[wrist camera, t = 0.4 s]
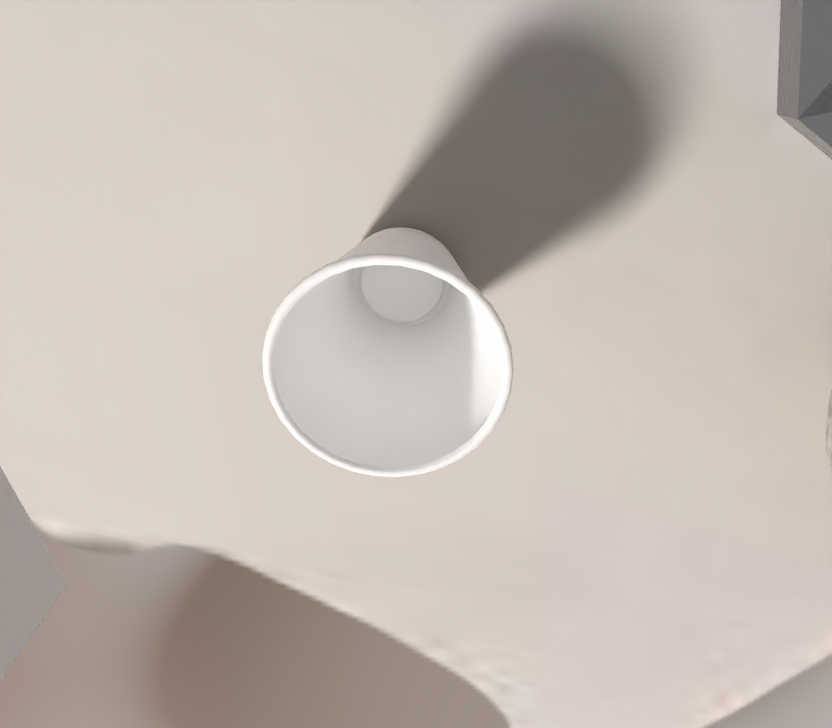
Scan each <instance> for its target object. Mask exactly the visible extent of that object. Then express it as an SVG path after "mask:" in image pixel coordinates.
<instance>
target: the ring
mask: <svg viewBox="0 0 832 728" xmlns="http://www.w3.org/2000/svg"><path fill="white" fill-rule="evenodd" d="M777 114H778V115H779V116H780V117H781V118H783V119H784V120H785V121H786V122H788V123H789V124H790V125H791V126H792V127H794V128H795V129H796V130H797V131H798V132H800V133H801V134H802V135H803V136H805V137H806V138H807V139H808V140H809V141H811V142H812V143H813V144H814V145H816V146H817V147H818V148H819V149H820V150H822V151H823V152H824V153H825V154H826V155H828V156H829V157H830V158H831V159H832V0H781V21H780V50H779V78H778V107H777Z"/></svg>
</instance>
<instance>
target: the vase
mask: <svg viewBox="0 0 832 728" xmlns="http://www.w3.org/2000/svg"><path fill="white" fill-rule="evenodd" d="M826 450H827V454H828V458H829V462H830V466H831V470H832V391H831V394H830V400H829V405H828V412H827V426H826Z"/></svg>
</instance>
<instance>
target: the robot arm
mask: <svg viewBox="0 0 832 728" xmlns="http://www.w3.org/2000/svg"><path fill="white" fill-rule="evenodd" d="M66 585H67V583H66V581H65V580H64V578H63V576H62V574H61V573H60V571H59V569H58V567H57V566H56V564H55V562H54V560H53V559H52V557H51V555H50V553H49V551H48V550H47V548H46V546H45V545H44V543H43V541H42V539H41V537H40V536H39V534H38V532H37V530H36V529H35V527H34V525H33V523H32V522H31V520H30V518H29V516H28V515H27V513H26V511H25V509H24V507H23V506H22V504H21V502H20V500H19V499H18V497H17V495H16V493H15V492H14V490H13V488H12V486H11V485H10V483H9V481H8V479H7V478H6V476H5V474H4V472H3V471H2V469H1V467H0V682H1V681H2V679H3V678H4V676H5V675H6V673H7V672H8V670H9V669H10V667H11V666H12V664H13V663H14V661H15V660H16V658H17V657H18V655H19V654H20V652H21V651H22V649H23V648H24V647H25V645H26V644H27V642H28V641H29V639H30V638H31V636H32V635H33V633H34V632H35V630H36V629H37V627H38V626H39V625H40V623H41V622H42V620H43V619H44V617H45V616H46V614H47V613H48V611H49V610H50V608H51V607H52V605H53V604H54V602H55V601H56V599H57V598H58V596H59V595H60V594H61V592H62V591H63V589H64V588H65V586H66Z"/></svg>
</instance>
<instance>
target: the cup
mask: <svg viewBox="0 0 832 728" xmlns="http://www.w3.org/2000/svg"><path fill="white" fill-rule="evenodd" d="M262 360H263V373H264V381H265V384H266V388H267V391H268V394H269V398H270V401H271V403H272V404H273V406H274V408H275V410H276V412H277V414H278V416H279V418H280V419H281V421H282V422H283V423H284V424H285V426H286V427H287V428H288V429H289V431H290V432H291V433H292V434H293V435H294V437H295V438H297V439H298V440H299V441H300V442H301V443H302V444H304V445H305V446H306V447H307V448H308V449H309V450H311V451H312V452H313V453H315V454H317V455H319V456H320V457H322V458H324V459H325V460H327V461H329V462H330V463H333V464H335V465H338V466H340V467H343V468H345V469H348V470H350V471H354V472H359V473H363V474H368V475H373V476H388V477H400V476H410V475H419V474H422V473H426V472H429V471H433V470H436V469H440V468H442V467H444V466H446V465H448V464H450V463H453V462H455V461H457V460H459V459H461V458H462V457H463V456H465V455H466V454H467V453H469V452H470V451H472V450H473V449H474V448H476V447H477V446H478V445H479V444H480V443H481V442H482V441H483V440H484V439H485V438H486V437H487V436H488V434H489V433H490V432H491V431H492V430H493V429H494V427H495V425H496V424H497V422H498V420H499V419H500V417H501V415H502V414H503V412H504V410H505V407H506V404H507V401H508V398H509V395H510V392H511V386H512V378H513V360H512V351H511V345H510V342H509V339H508V336H507V333H506V330H505V327H504V324H503V323H502V321H501V319H500V318H499V316H498V314H497V313H496V311H495V310H494V308H493V306H492V305H491V303H490V302H489V301H488V300H487V299H486V298H485V297H484V296H483V295H482V294H481V293H480V292H479V290H478V289H477V288H476V287H475V286H474V285H472V284H471V283H470V282H469V281H468V279H467V278H466V276H465V275H464V273H463V272H462V270H461V269H460V267H459V266H458V264H457V263H456V261H455V260H454V258H453V257H452V255H451V254H450V252H449V251H448V250H447V248H446V247H445V246H444V245H443V244H442V243H441V242H440V241H438V240H437V239H436V238H434V237H433V236H431V235H429V234H427V233H425V232H423V231H421V230H416V229H412V228H404V227H396V228H389V229H384V230H382V231H379V232H376V233H374V234H372V235H371V236H369V237H367V238H366V239H364V240H363V241H362V242H360V243H359V244H358V245H357V246H355V247H354V248H353V249H352V250H350V251H349V252H348V253H346V254H345V255H344V256H343V257H341V258H340V259H338V260H337V261H335V262H333V263H330V264H327V265H325V266H323V267H322V268H320V269H318V270H317V271H315V272H313V273H312V274H310V275H308V276H307V277H305V278H304V279H303V280H302V281H301V282H300V283H298V284H297V285H296V286H295V287H294V288H293V289H292V290H291V291H290V292H289V293H288V294H287V295H286V296H285V298H284V299H283V301H282V302H281V304H280V305H279V307H278V308H277V310H276V311H275V313H274V315H273V317H272V320H271V322H270V325H269V328H268V330H267V333H266V335H265V342H264V349H263V356H262Z"/></svg>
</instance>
